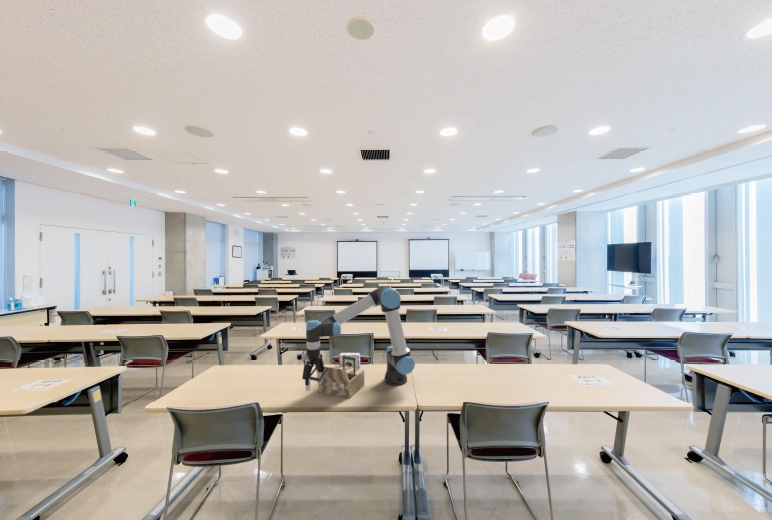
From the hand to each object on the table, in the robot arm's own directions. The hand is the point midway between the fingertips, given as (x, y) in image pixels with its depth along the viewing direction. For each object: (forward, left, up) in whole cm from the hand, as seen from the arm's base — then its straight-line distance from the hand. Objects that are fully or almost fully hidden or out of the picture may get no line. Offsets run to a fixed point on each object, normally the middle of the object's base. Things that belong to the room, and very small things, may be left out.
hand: (314, 386), depth 180 cm
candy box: (0, -40, -9) cm, 41 cm away
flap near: (-5, -11, +5) cm, 13 cm away
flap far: (-5, -26, +1) cm, 26 cm away
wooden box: (-5, -22, -9) cm, 24 cm away
